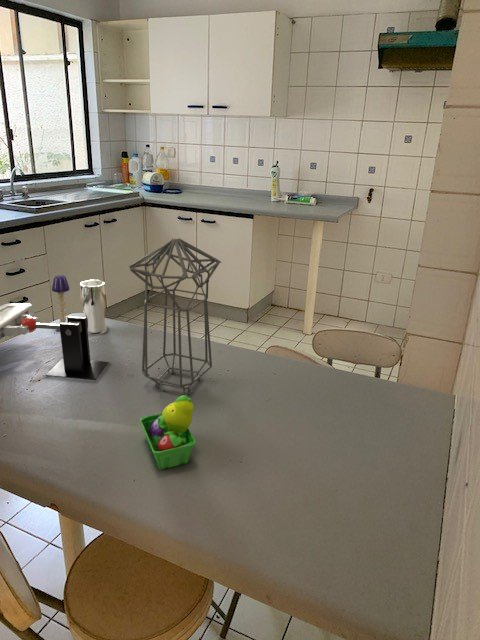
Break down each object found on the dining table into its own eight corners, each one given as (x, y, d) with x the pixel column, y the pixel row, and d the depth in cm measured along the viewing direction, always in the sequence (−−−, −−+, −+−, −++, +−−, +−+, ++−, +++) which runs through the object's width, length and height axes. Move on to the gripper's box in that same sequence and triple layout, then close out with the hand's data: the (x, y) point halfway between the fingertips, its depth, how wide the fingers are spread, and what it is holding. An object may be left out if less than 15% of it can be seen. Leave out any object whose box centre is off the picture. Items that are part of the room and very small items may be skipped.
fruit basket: (139, 439, 90) (137, 389, 85) (183, 430, 93) (183, 380, 89) (154, 477, 80) (153, 422, 76) (203, 465, 84) (203, 412, 79)
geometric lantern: (192, 410, 100) (192, 251, 86) (130, 393, 105) (121, 241, 92) (221, 378, 113) (226, 236, 100) (165, 364, 118) (162, 228, 105)
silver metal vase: (78, 334, 133) (73, 284, 128) (94, 325, 139) (90, 278, 134) (98, 338, 131) (94, 288, 125) (113, 330, 137) (110, 281, 131)
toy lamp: (62, 327, 138) (56, 273, 131) (76, 329, 137) (71, 274, 131) (53, 333, 133) (46, 277, 127) (67, 335, 132) (62, 279, 126)
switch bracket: (45, 379, 109) (38, 326, 104) (63, 362, 117) (57, 311, 112) (95, 384, 108) (90, 330, 103) (109, 366, 116) (105, 315, 111)
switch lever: (18, 334, 108) (16, 320, 107) (26, 328, 112) (24, 314, 110) (77, 338, 107) (75, 323, 106) (83, 332, 110) (82, 318, 109)
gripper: (3, 318, 121) (54, 322, 120) (-49, 352, 102) (11, 356, 101) (0, 295, 119) (52, 299, 118) (-55, 325, 100) (6, 330, 99)
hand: (32, 326), depth 109 cm, fingers closed on switch lever, 3 cm apart
